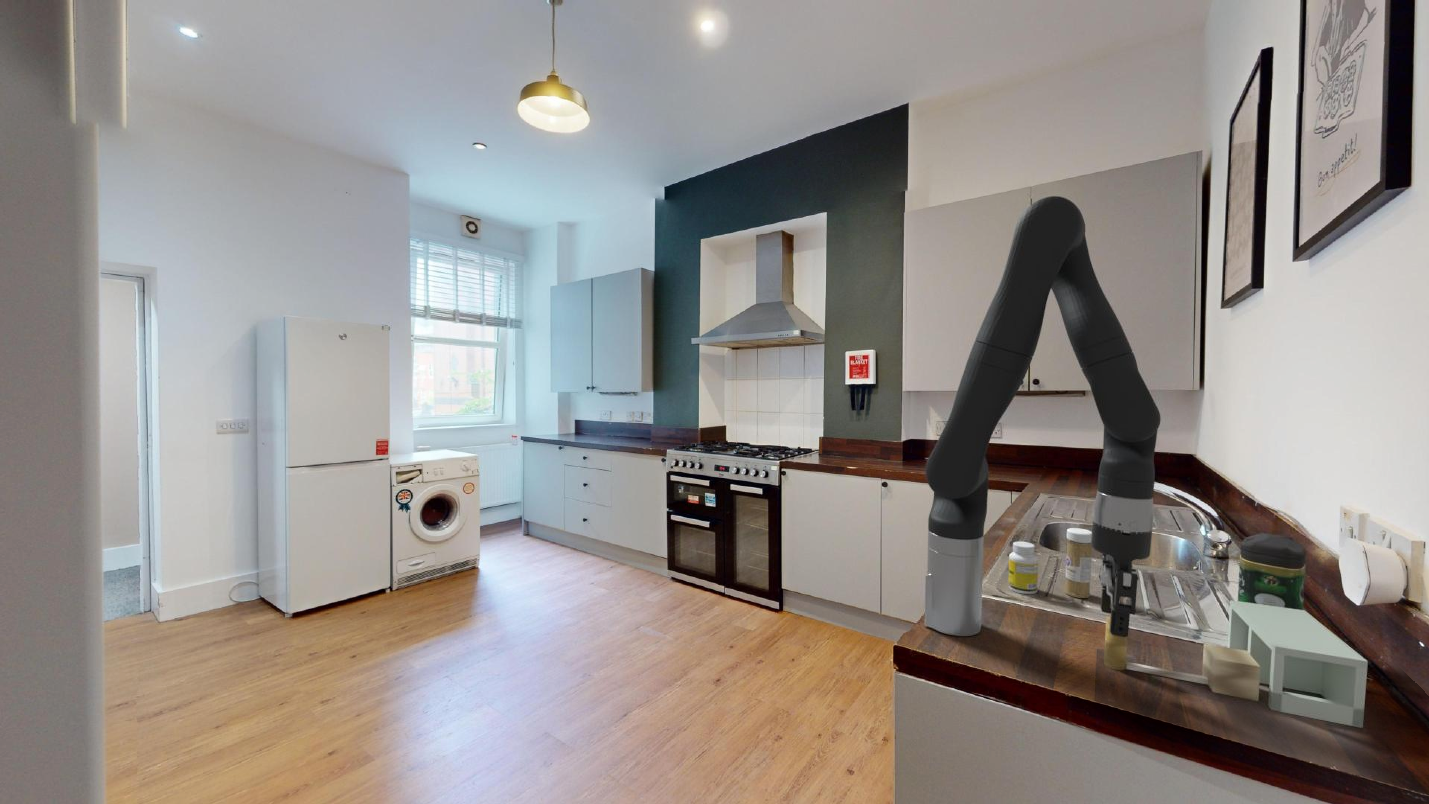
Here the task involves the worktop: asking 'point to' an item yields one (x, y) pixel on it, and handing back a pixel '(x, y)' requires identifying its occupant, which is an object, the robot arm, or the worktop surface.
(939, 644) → the worktop surface
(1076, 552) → the spice jar
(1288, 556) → the coffee jar
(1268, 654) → the shelf cubby
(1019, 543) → the supplement bottle
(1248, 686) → the block
